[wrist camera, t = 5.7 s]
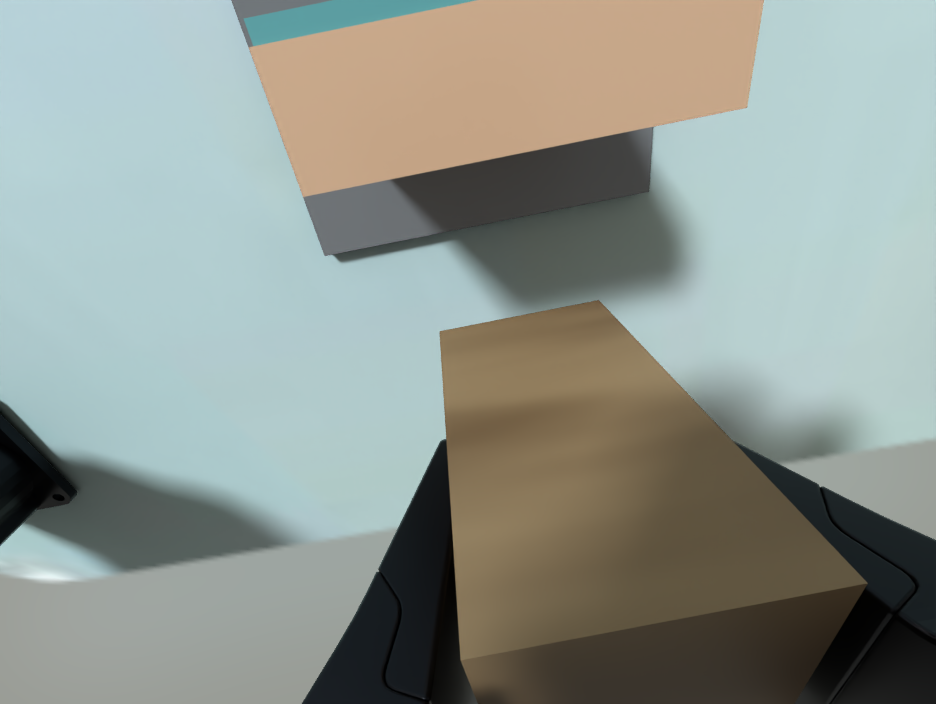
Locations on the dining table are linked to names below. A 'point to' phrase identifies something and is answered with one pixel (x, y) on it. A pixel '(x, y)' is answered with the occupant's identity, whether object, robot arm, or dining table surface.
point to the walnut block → (619, 530)
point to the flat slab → (488, 77)
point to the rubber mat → (471, 182)
